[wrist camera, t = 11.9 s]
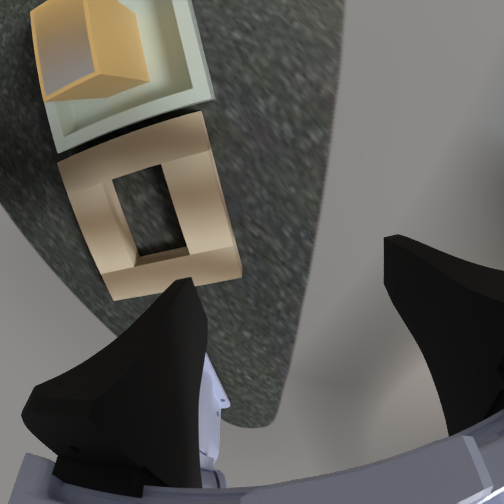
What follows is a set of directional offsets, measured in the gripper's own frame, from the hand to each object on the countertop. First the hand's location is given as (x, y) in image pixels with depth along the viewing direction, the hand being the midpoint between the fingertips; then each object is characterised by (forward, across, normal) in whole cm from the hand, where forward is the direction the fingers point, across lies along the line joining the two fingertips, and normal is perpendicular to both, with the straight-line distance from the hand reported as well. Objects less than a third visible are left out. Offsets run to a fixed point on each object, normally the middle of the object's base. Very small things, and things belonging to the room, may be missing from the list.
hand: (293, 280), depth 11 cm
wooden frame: (+10, +8, -1) cm, 13 cm away
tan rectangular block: (+9, +7, -12) cm, 17 cm away
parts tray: (+10, +7, -12) cm, 17 cm away
